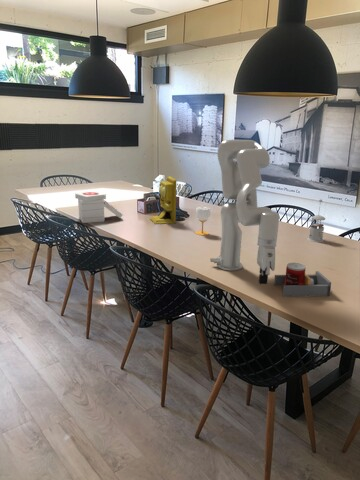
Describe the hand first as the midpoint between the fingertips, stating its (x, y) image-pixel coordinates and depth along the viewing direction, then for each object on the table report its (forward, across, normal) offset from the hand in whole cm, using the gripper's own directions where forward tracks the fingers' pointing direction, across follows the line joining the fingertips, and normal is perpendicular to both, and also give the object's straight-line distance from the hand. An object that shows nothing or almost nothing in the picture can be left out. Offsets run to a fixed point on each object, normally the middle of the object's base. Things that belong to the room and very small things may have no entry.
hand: (262, 283), depth 164 cm
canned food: (+3, 0, -14) cm, 14 cm away
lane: (+3, 0, -17) cm, 17 cm away
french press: (+4, +72, -55) cm, 91 cm away
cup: (+4, +86, +13) cm, 87 cm away
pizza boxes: (+5, +123, +80) cm, 147 cm away
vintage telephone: (+5, +118, +37) cm, 124 cm away
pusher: (+3, 0, -19) cm, 20 cm away
